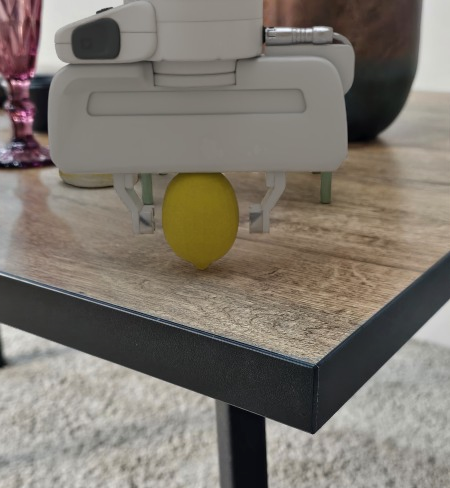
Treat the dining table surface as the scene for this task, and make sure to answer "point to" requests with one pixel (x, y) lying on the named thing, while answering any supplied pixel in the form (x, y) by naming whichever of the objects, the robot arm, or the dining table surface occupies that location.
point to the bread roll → (88, 179)
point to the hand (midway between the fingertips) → (201, 231)
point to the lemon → (200, 217)
